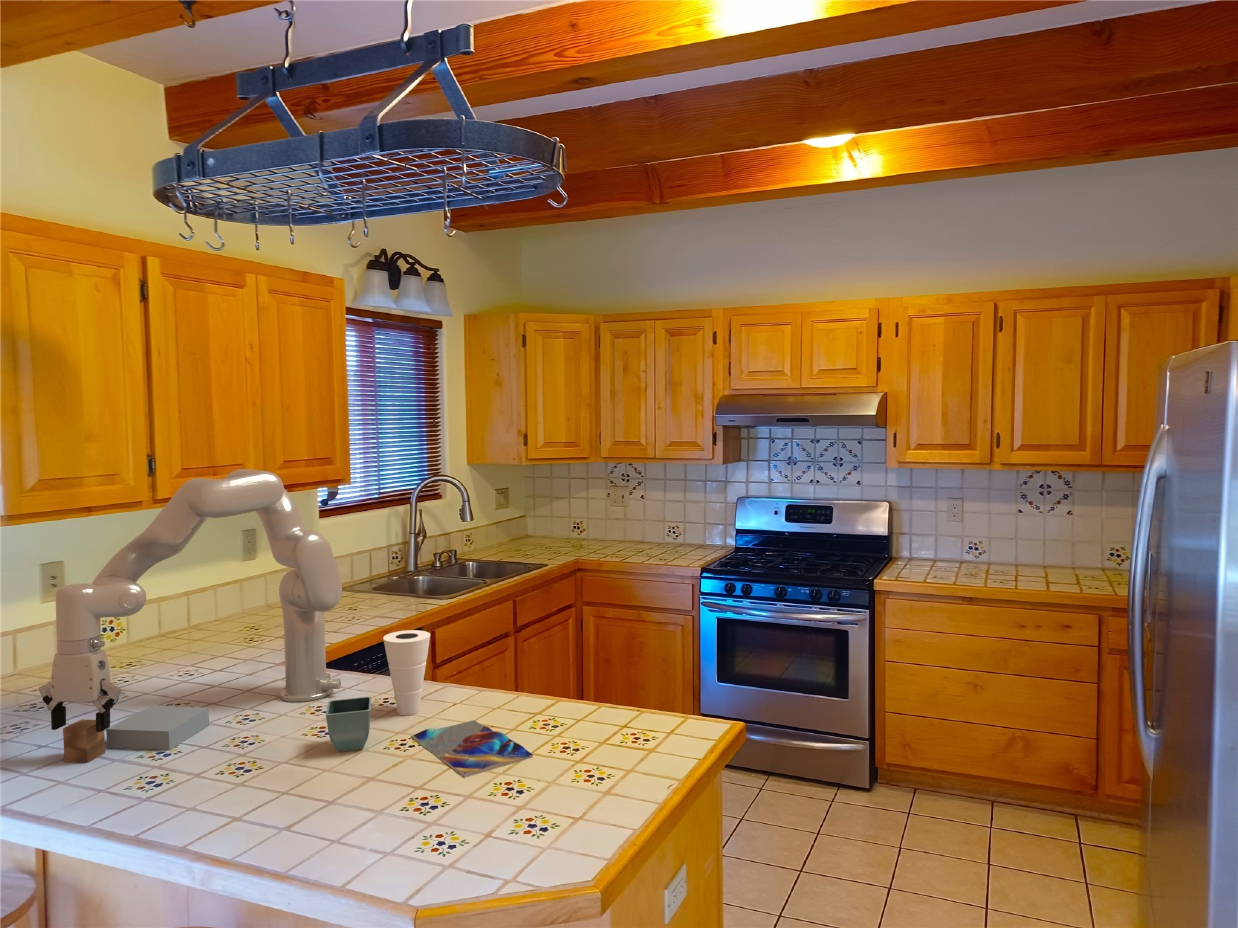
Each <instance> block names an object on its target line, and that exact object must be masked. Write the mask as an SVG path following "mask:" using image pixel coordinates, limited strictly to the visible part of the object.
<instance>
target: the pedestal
mask: <svg viewBox="0 0 1238 928" xmlns="http://www.w3.org/2000/svg"><path fill="white" fill-rule="evenodd" d="M209 711H210V710H209V707H197V706H196V707H195V706H163V705H162V706H161V705H149V706H148V707H145V708H143V709H142V710H140V711H138V712H136V713H134V714H132V715H130V716H128V717H127V718H125V719H123V720H121V721H119V722H117V723H115V724H113V725H112V726H111V725H110V727H109V728H107V729H105V730H106V734H105V735H106V748H107V749H125V750H126V749H130V750H133V749H134V750H152V751H153V750H157V751H158V750H159V751H170V750H172V749H174V748H176V747H177V746H178V745H180V744H182V743H183V742H185V741H186V740H188V739H190V738H192V736H193V737H194V735H196V734H198V733H199V732H201V731H203V730H204V729H205V728H208V727H209V726H210V714H209V713H210V712H209Z"/></svg>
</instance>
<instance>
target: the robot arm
mask: <svg viewBox="0 0 1238 928" xmlns="http://www.w3.org/2000/svg"><path fill="white" fill-rule="evenodd" d="M284 487H285V486H284V483H283V481H282V479H281V478H280V477H279V475H277V474H276V473H273V472H271V471H268V470H258V469H257V470H255V469H246V468H240V469H236V470H233V471H231V472H230V473H228V474H227V476H226V477H225V478H217V479H213V478H203V477H198V478H192V479H189V480H187V481H185V482H184V483H183V484H182V485H181V486H180V487H179V488H178V490H177V491H176V492H175V493H174V494H173V496H172V497H171V498H170V499H169V501H168V502H167V503H166V505H165V506H163V508H162V509H161V511H160V512H159V513H158V514H157V516H156V517H154V519H153V520H152V522H151V523H150V524H149V525H148V526H147V528H145V529H144V530H143V531H142V532H141V533H140V534H138V535H137V536H136V537H134V538H133V539H132V540H131V541H130V542H128V543H127V544H126V545H124V546H123V547H122V548H121V549H119V550H118V551H117V552H116V553H115V554H114V555H113V556H112V557H111V558H110V559H109V561H108V562H107V563H106V564H105V566H104V567H103V568H102V569H101V571H100V572H99V573H98V574H97V575H96V576H95V578H94V579H93V581H92V582H91V583H73V584H66V585H62V586H61V587H59V588H58V589H57V590H56V592H55V622H56V623H55V626H56V627H55V628H56V629H55V630H56V631H55V633H56V634H55V635H56V653H54V655H53V660H52V664H51V665H52V667H51V676H50V681H49V682H47V683H45V684H43V685H41V686H39V687H38V691H39V694H40V696H41V698H42V702H43V703H44V704H45V705H46V706H47V710H48V711H50V723H51V724H50V726H51V728H50V729H51V730H52V731H56V730H58V729H60V728H64V727H66V726H67V708H66V705H65V703H70V704H71V703H73V704H75V703H76V704H92V705H93V706H94V708H95V709H96V710H97V711H98V712H96V713H95V720H96V731H97V732H101V731H103V730H104V731H105V730H106V729H108V728H109V727H111V709H113V708H114V705H116V704H117V703H118V702H119V698H120V696H121V694H122V692H123V689H122V688H120V687H119V686H118V685H115V684H114V683H112V680H111V671H110V665H109V661H108V655H107V654H106V650H105V649H102V648H104V647H105V645H106V642H105V641H104V640H102V638H101V637H102V636H101V619H103V618H124V617H130V616H133V615H134V614H137V613H138V612H140V611H141V610H142V609H143V608H144V606H145V604H146V602H147V592H146V590H145V589H144V587H143V586H142V585H141V584H139V583H138V581H139V580H140V579H141V577H142V576H143V575H144V574H145V573H146V572H148V570H150V569H151V568H152V567H154V566H155V565H157V564H159V563H160V562H163V561H165V560H168V559H170V558H172V557H174V556H177V555H178V554H180V553H181V552H183V550H184V549H185V548H186V546H187V545H188V544H189V543H190V541H191V540H192V539H193V538H194V537H195V535H196V534H197V532H198V531H199V530H200V529H201V527H202V526H203V524H205V523H206V521H207V520H208V519H220V518H227V517H228V518H229V517H234V516H239V515H243V514H247V513H248V514H249V513H253V512H255V513H256V514H257V515H258V518H259V519H260V521H261V524H262V525H263V529H264V531H265V534H266V538H267V540H268V544H269V547H270V550H271V554H272V556H273V558H274V560H275V561H276V563H278V564H279V565H281V566H284V567H285V568H286V567H287V568H290V570H289V571H288V572H286V573H285V574H284V575H282V578H281V580H280V582H279V586H278V597H279V601H280V606H281V610H282V618H283V639H284V640H283V642H284V670H285V671H284V674H285V686H284V687H283V688H282V689H280V690H279V692H278V693H279V696H278V697H279V699H281V700H283V701H286V702H293V703H294V702H295V703H296V702H298V703H299V702H309V701H316V700H319V699H323V698H325V697H327V696H329V695H331V694H332V693H333V692H334V690H340V689H341V687H342V682H341V679H340V678H331V672H327V661H326V659H327V658H326V625H325V622H326V621H325V616H324V612H329V611H331V610H333V609H334V608H336V607H337V605H339V603H340V601H341V599H342V596H343V585H342V580H341V577H340V572H339V570H338V566H337V563H336V560H335V556H334V553H333V550H332V547H331V545H330V543H329V542H328V540H327V538H325V536H323V535H322V534H321V533H319V532H316V531H314V530H308V529H306V528H305V526H304V523H303V521H302V518H301V515H300V513H299V510H298V508H297V506H296V502H295V501H294V499H293V497H292V496H291V494H290V493H289V492H288V491H287V490H286V489H285V488H284ZM291 568H292V569H291Z"/></svg>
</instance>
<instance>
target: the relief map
mask: <svg viewBox="0 0 1238 928" xmlns="http://www.w3.org/2000/svg"><path fill="white" fill-rule="evenodd" d="M410 738H411V739H413V741H414V742H416V743H417V744H418V745H420V746H422V747H423V748H424V749H425V750H427V751H428V752H430V753H431V754H433V755H434V756H435V757H436V758H438V759H439V760H440V761H442V762H443V763H444V764H446V766H448V767H449V768H450V769H452V770H453V771H455V772H456V773H458V774H459V775H460V776H462V777H463V778H464V779H465V778H468V777H472V776H475V775H478V774H482V773H485V772H488V771H491V770H495V769H499V768H501V767H505V766H508V765H512V764H515V763H518V762H522V761H526V760H529V759H532V758H533V757H534V754H533V753H532V752H530V751H528V750H527V749H526V748H525V747H524V746H523V745H521V744H520V743H517V742H515V741H514V740H512V739H510V738H509V737H508V735H506V734H505V733H504V732H502V731H500V730H496V731H495V730H493V729H492V728H490V727H489V726H484V725H483V724H481V723H479V722H478V721H476V720H475V719H473V720H470V721H465V722H461V723H458V724H453V725H449V726H445V727H444V726H443V727H439V728H433V727H431V728H430V727H429V728H426V729H424V730H422V731H419V732H417V733H415V734H413V735H410Z"/></svg>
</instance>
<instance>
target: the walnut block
mask: <svg viewBox="0 0 1238 928" xmlns="http://www.w3.org/2000/svg"><path fill="white" fill-rule="evenodd" d="M105 735H106V734H105V730H103V731H101V732H97V731H96V719H84V718H83V719H79V720H77V721H75V722H73V723H71V724H69V725H66V726H64V727H62V736H63V737H62V738H63V754H64V755H63V758H64V760H63V761H64V763H74V764H75V763H76V764H77V763H79V764H80V763H81V764H89V763H91V762H92V761H94V760H95V759H98V758H99V757H101V756H103V755H104V754H106V740H105V739H106V738H105Z"/></svg>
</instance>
